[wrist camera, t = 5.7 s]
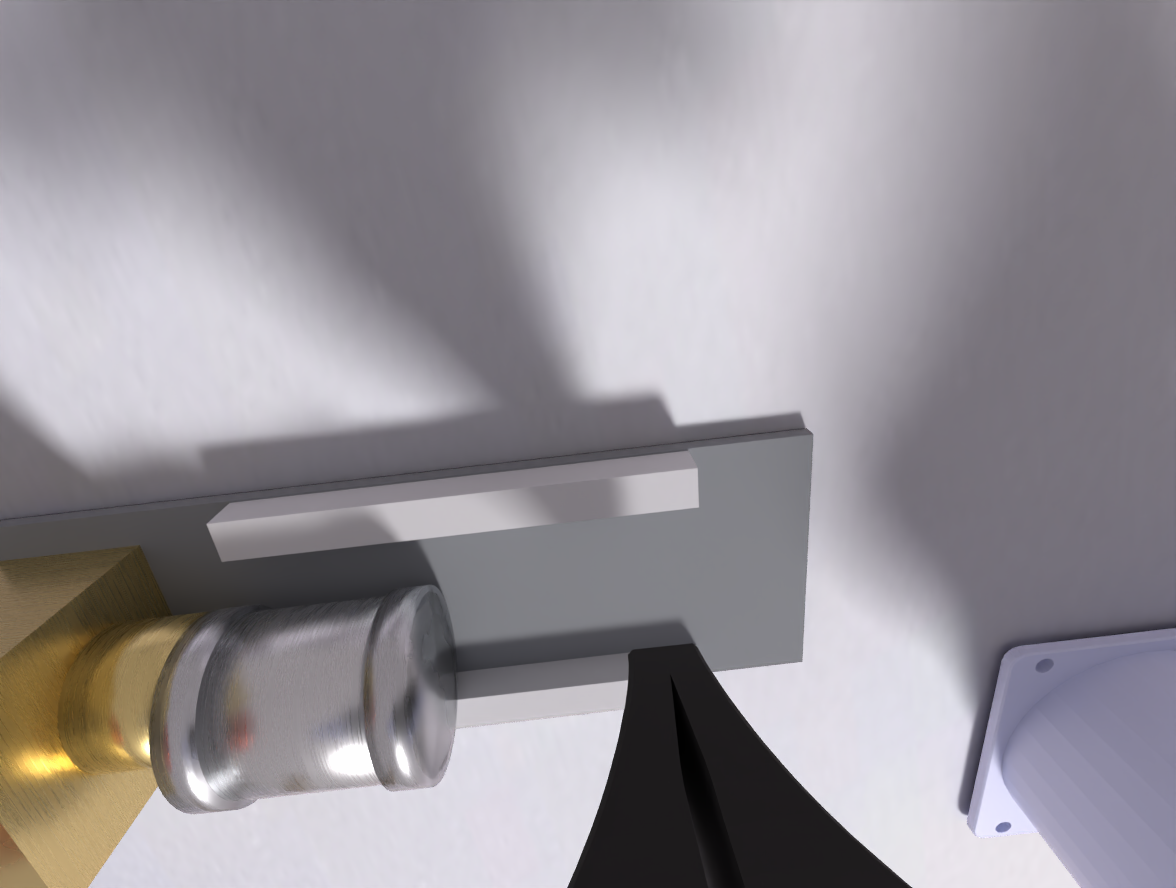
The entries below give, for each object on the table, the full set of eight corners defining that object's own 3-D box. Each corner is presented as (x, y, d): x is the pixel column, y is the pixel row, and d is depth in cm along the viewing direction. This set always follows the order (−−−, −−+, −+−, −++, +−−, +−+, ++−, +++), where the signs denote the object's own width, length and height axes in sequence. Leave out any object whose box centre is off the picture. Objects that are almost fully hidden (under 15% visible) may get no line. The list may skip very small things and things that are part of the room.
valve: (221, 535, 14) (-48, 798, 8) (285, 696, 16) (112, 1008, 10) (-49, 566, 14) (-533, 855, 8) (49, 723, 16) (-275, 1053, 10)
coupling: (423, 547, 14) (389, 734, 10) (463, 645, 16) (447, 816, 13) (211, 571, 14) (111, 766, 10) (288, 665, 16) (227, 841, 13)
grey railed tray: (806, 428, 14) (831, 450, 13) (796, 651, 17) (816, 688, 16) (-8, 521, 14) (-64, 553, 13) (112, 730, 17) (75, 773, 16)
